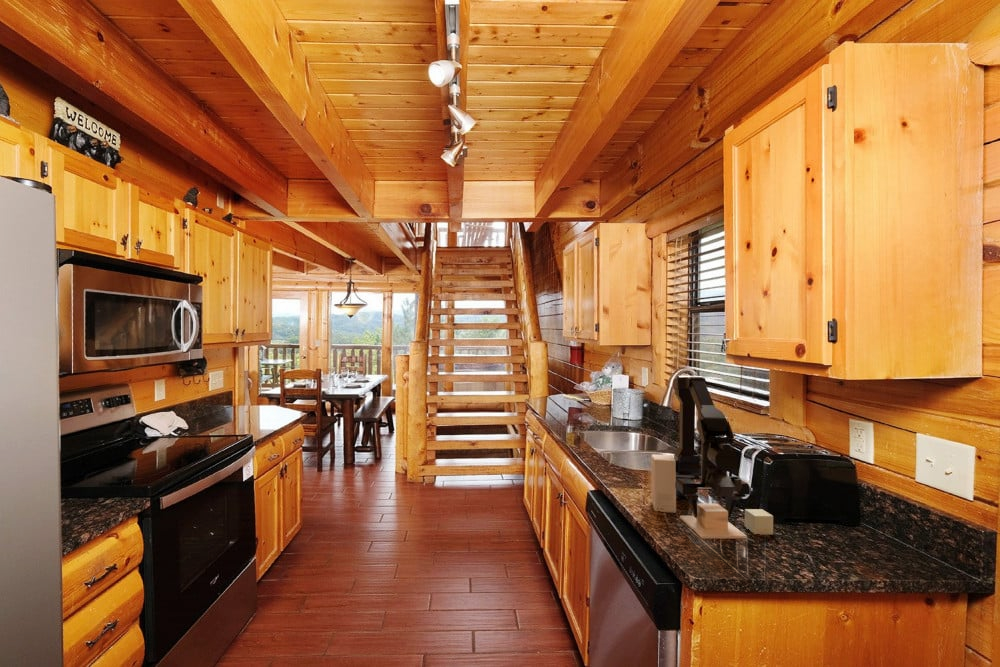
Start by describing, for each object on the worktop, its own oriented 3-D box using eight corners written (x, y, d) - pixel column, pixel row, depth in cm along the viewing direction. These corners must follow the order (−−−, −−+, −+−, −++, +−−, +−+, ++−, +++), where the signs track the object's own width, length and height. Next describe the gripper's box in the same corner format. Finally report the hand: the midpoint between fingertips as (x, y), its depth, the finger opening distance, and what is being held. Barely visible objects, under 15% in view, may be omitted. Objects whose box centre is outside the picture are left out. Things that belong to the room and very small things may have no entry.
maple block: (696, 521, 135) (696, 503, 135) (717, 521, 135) (717, 503, 135) (705, 529, 129) (706, 511, 129) (727, 529, 129) (728, 511, 129)
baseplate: (679, 517, 139) (679, 515, 139) (720, 517, 140) (720, 515, 140) (701, 538, 125) (701, 536, 125) (746, 538, 126) (746, 536, 126)
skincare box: (676, 513, 142) (677, 461, 142) (653, 511, 144) (653, 459, 144) (672, 503, 151) (672, 454, 151) (650, 502, 152) (650, 453, 152)
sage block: (744, 527, 133) (744, 509, 133) (762, 527, 133) (762, 509, 133) (754, 534, 128) (754, 516, 128) (772, 534, 128) (773, 516, 128)
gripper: (691, 469, 124) (691, 529, 124) (762, 469, 125) (761, 529, 125) (674, 457, 135) (674, 513, 135) (739, 458, 136) (739, 513, 136)
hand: (711, 517), depth 132 cm, fingers open, 9 cm apart
